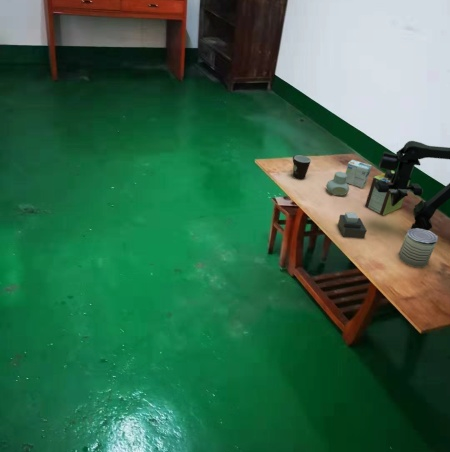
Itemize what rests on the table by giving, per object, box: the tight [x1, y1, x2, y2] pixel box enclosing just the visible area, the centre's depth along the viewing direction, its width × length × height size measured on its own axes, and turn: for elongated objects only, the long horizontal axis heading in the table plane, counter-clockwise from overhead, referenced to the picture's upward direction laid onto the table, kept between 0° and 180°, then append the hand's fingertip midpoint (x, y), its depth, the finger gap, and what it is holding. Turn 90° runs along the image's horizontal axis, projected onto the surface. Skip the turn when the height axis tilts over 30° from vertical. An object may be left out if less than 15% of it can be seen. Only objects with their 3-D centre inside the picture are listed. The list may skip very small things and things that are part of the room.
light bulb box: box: [344, 159, 372, 189], centre depth 234 cm, size 11×7×11 cm, turn 58°
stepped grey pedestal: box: [337, 214, 367, 239], centre depth 195 cm, size 10×10×6 cm
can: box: [398, 228, 439, 268], centre depth 180 cm, size 11×11×12 cm
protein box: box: [364, 170, 411, 216], centre depth 214 cm, size 10×15×16 cm
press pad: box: [344, 211, 359, 223], centre depth 193 cm, size 4×4×2 cm
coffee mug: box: [292, 154, 312, 180], centre depth 236 cm, size 12×9×10 cm
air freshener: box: [326, 171, 350, 196], centre depth 223 cm, size 11×8×10 cm
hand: (392, 205), depth 194 cm, fingers closed
